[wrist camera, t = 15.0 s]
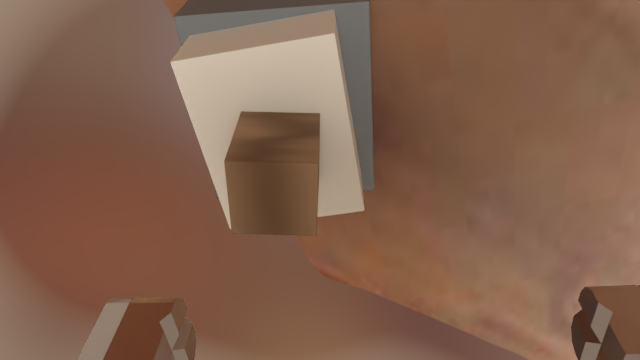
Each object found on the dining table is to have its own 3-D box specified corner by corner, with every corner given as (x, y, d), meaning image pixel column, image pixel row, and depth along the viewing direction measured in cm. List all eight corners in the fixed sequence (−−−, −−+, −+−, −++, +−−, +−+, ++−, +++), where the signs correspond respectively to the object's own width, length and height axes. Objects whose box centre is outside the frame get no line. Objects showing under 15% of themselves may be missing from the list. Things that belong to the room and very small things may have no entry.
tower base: (364, -17, 37) (369, 1, 33) (370, 158, 46) (374, 189, 42) (191, -3, 38) (174, 16, 34) (227, 166, 46) (217, 198, 42)
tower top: (334, 9, 34) (334, 33, 29) (361, 172, 41) (364, 210, 36) (189, 35, 35) (170, 61, 31) (240, 190, 42) (229, 228, 38)
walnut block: (320, 113, 32) (317, 163, 27) (319, 179, 35) (316, 235, 30) (241, 111, 32) (224, 161, 27) (246, 177, 35) (231, 233, 30)
